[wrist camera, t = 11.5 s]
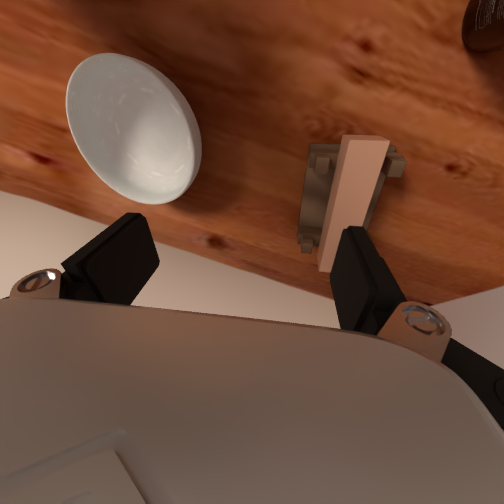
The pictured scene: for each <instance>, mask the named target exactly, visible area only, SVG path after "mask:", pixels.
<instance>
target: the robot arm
mask: <svg viewBox="0 0 504 504" xmlns="http://www.w3.org/2000/svg"><path fill="white" fill-rule="evenodd" d="M159 262H160V260H159V257H158V254H157V251H156V248H155V244H154V241H153V238H152V235H151V232H150V229H149V226H148V223H147V220H146V218H145V217H144V216H143V215H142V214H140V213H126V214H125V215H123V216H122V217H121V218H119V219H118V220H117V221H115V222H114V223H113V224H112V225H110V226H109V227H108V228H106V229H105V230H104V231H103V232H101V233H100V234H99V235H97V236H96V237H95V238H93V239H92V240H91V241H90V242H88V243H87V244H86V245H84V246H83V247H82V248H80V249H79V250H78V251H76V252H75V253H74V254H73V255H71V256H70V257H69V258H67V259H66V260H65V261H63V262H62V263H61V265H62V266H63V268H64V269H65V272H64V273H61V272H60V271H59V270H57V269H44V270H40V271H36V272H33V273H31V274H29V275H27V276H25V277H23V278H22V279H20V280H19V281H18V282H17V283H16V284H15V285H14V286H13V288H12V290H11V292H10V296H9V297H6V298H3V299H0V504H504V369H502V368H500V367H499V366H497V365H495V364H494V363H492V362H490V361H489V360H487V359H485V358H484V357H482V356H480V355H478V354H477V353H475V352H474V351H472V350H470V349H469V348H467V347H465V346H464V345H462V344H460V343H459V342H457V341H456V340H454V339H452V338H451V334H452V329H451V326H450V324H449V322H448V321H447V320H446V319H445V317H444V316H442V315H441V314H440V313H439V312H438V311H436V310H434V309H433V308H431V307H429V306H427V305H424V304H422V303H418V302H411V301H407V300H406V298H405V296H404V294H403V293H402V291H401V289H400V287H399V286H398V284H397V282H396V280H395V279H394V277H393V275H392V273H391V272H390V270H389V268H388V266H387V264H386V263H385V261H384V259H383V258H382V257H380V256H379V254H378V252H377V250H376V249H375V247H374V245H373V243H372V241H371V239H370V238H369V236H368V234H367V232H366V230H365V229H364V227H363V226H348V228H347V229H343V231H342V234H341V237H340V241H339V244H338V248H337V252H336V255H335V259H334V262H333V266H332V269H331V273H330V283H331V288H332V292H333V297H334V301H335V306H336V310H337V314H338V319H339V323H340V328H341V329H337V328H329V327H322V326H314V325H305V324H298V323H289V322H280V321H272V320H263V319H253V318H244V317H236V316H227V315H217V314H208V313H199V312H190V311H180V310H171V309H161V308H152V307H142V306H132V305H131V303H132V302H133V300H134V299H135V298H136V296H137V295H138V294H139V292H140V291H141V289H142V288H143V287H144V285H145V284H146V283H147V281H148V280H149V278H150V277H151V276H152V274H153V273H154V272H155V270H156V269H157V268H158V266H159Z"/></svg>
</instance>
